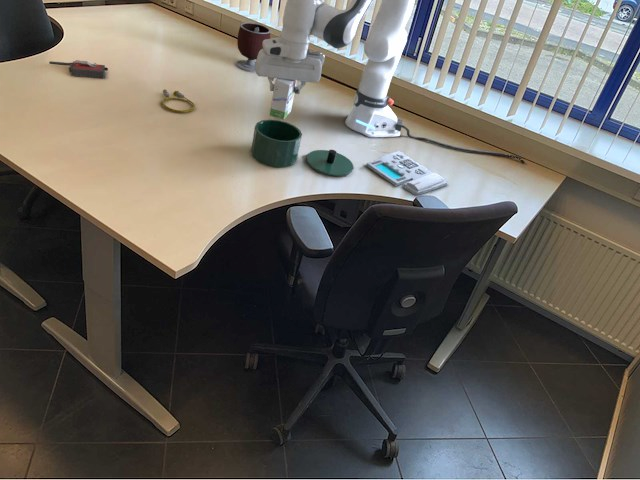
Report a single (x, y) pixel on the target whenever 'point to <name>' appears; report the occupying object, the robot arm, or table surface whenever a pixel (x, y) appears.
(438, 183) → the office telephone
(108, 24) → the table surface
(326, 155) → the tin lid
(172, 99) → the extension cord
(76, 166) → the table surface
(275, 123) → the tin
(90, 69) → the walkie-talkie
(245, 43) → the mate gourd
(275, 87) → the ink box
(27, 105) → the table surface
